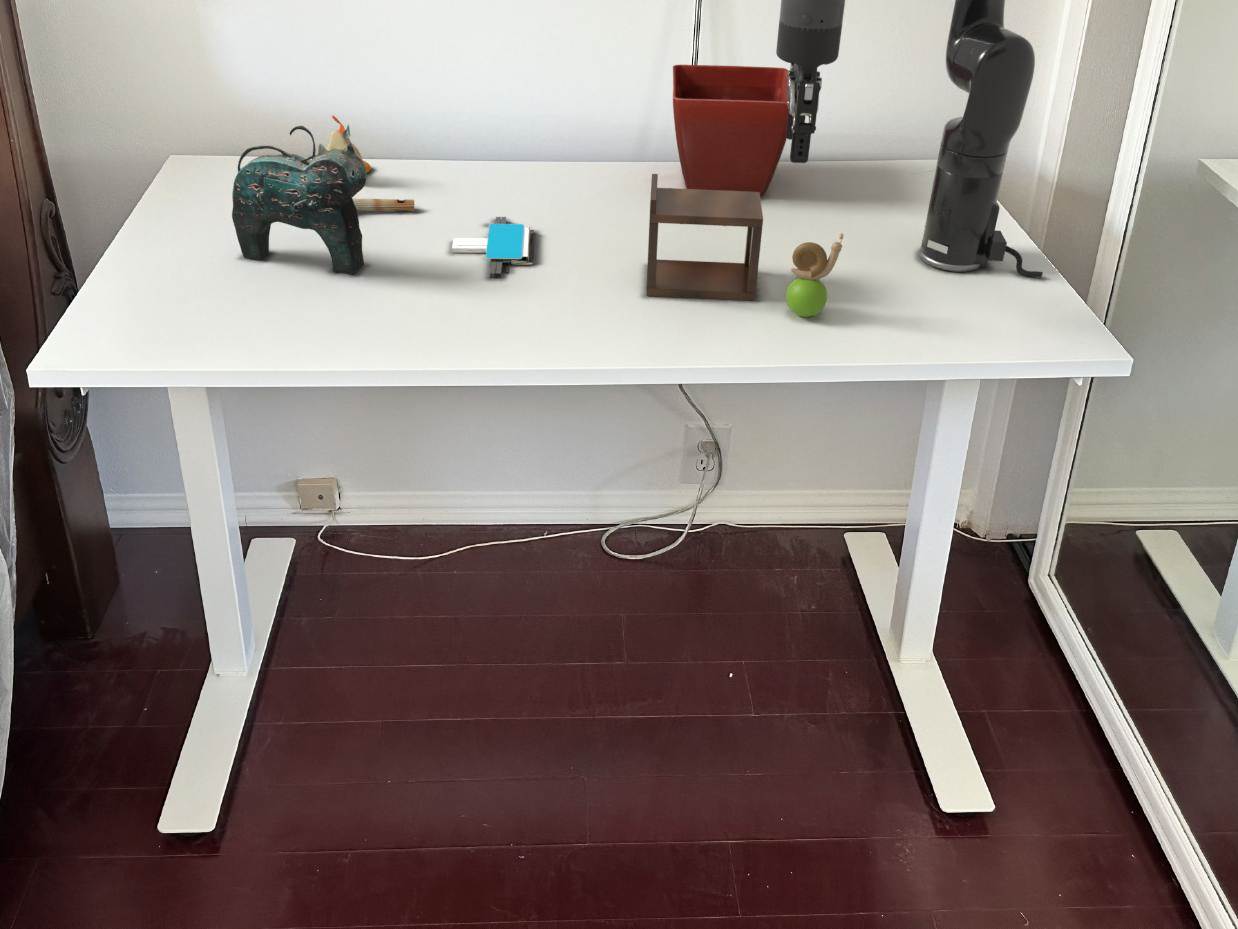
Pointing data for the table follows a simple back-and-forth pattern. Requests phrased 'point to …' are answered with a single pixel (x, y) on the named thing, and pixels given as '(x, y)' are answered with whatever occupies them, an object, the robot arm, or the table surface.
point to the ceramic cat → (301, 201)
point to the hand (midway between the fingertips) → (796, 150)
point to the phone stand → (501, 246)
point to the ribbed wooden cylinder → (383, 204)
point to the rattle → (343, 141)
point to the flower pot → (729, 125)
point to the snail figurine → (810, 277)
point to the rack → (701, 275)
